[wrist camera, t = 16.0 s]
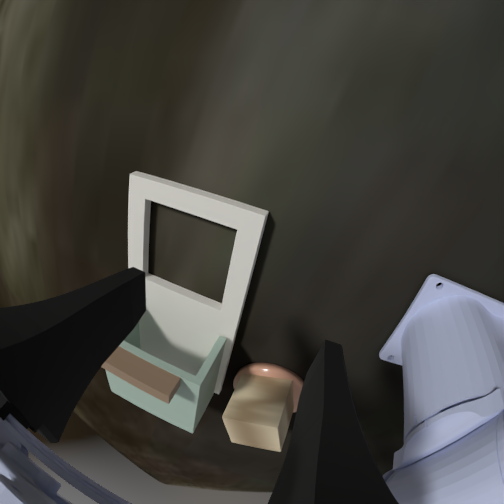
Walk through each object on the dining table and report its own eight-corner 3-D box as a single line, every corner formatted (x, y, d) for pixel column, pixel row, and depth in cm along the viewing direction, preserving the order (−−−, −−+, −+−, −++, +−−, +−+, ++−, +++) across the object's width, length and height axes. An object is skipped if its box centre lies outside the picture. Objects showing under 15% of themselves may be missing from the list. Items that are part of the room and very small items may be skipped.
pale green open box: (226, 338, 24) (189, 405, 18) (213, 394, 28) (184, 448, 23) (132, 296, 25) (82, 346, 19) (137, 357, 30) (101, 403, 24)
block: (292, 379, 24) (277, 427, 20) (293, 408, 26) (280, 451, 22) (242, 372, 26) (221, 416, 22) (249, 401, 28) (231, 442, 23)
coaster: (319, 378, 24) (317, 386, 24) (294, 415, 28) (292, 421, 27) (243, 352, 26) (240, 358, 25) (230, 392, 29) (228, 398, 28)
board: (268, 211, 19) (265, 215, 18) (221, 388, 29) (218, 394, 29) (136, 171, 20) (129, 173, 20) (138, 350, 31) (134, 354, 30)
